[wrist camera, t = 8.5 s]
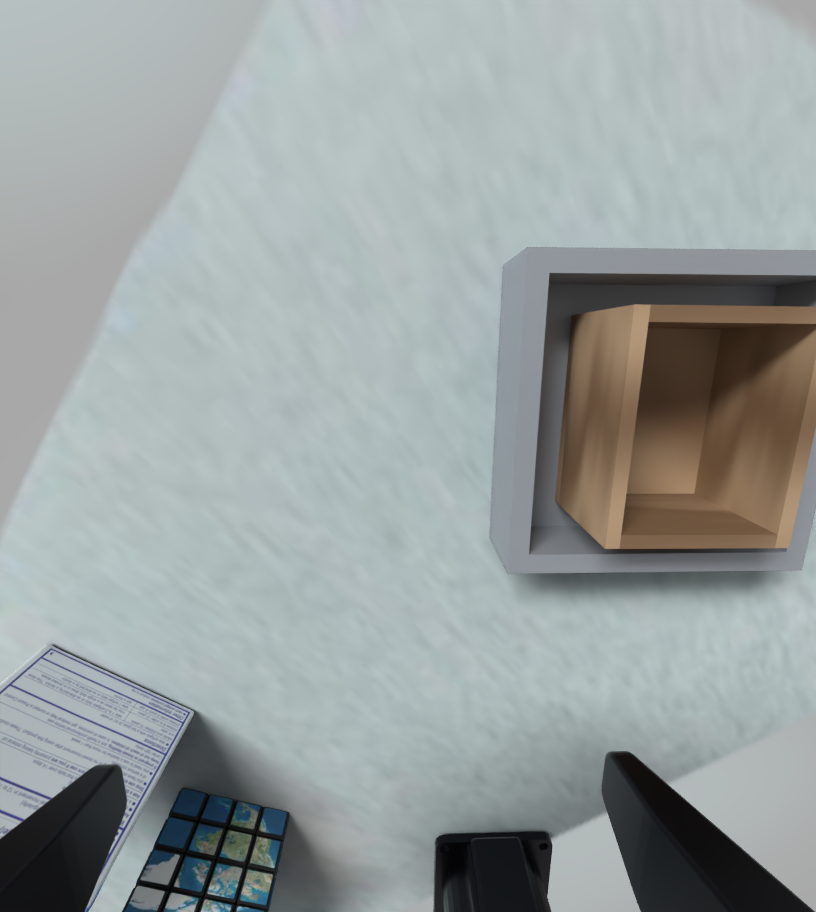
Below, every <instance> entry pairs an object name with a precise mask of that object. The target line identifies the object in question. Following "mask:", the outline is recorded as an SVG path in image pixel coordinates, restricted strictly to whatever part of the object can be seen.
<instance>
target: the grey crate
mask: <svg viewBox="0 0 816 912" xmlns="http://www.w3.org/2000/svg"><path fill="white" fill-rule="evenodd" d="M634 304H641V305H717V306H793V307H816V250H735V249H648V248H561V247H527V248H526V249H524V250H523V251H522V252H520V253H519V254H518V255H516V256H515V257H513V258H512V259H511V260H509V261H508V262H507V263H505V264H504V265H503V277H502V297H501V317H500V337H499V357H498V377H497V397H496V417H495V437H494V457H493V477H492V497H491V517H490V537H489V538H490V540H491V542H492V544H493V546H494V548H495V550H496V552H497V554H498V556H499V558H500V560H501V562H502V564H503V566H504V568H505V570H506V572H507V574H523V573H610V572H698V571H785V570H802V566H803V562H804V557H805V553H806V548H807V544H808V540H809V535H810V531H811V526H812V522H813V518H814V513H815V509H816V429H815V434H814V438H813V443H812V447H811V452H810V456H809V461H808V465H807V469H806V474H805V478H804V483H803V487H802V492H801V496H800V501H799V505H798V510H797V514H796V519H795V523H794V528H793V532H792V537H791V541H790V546H789V548H707V549H605V548H603V547H602V546H601V545H600V544H599V543H598V542H597V541H596V540H595V539H594V538H593V537H592V536H591V535H590V534H589V533H588V532H587V531H586V530H585V529H584V528H583V527H582V526H581V525H580V524H578V523H577V522H576V521H575V520H574V519H573V518H572V517H571V516H570V515H569V514H568V513H567V512H566V511H565V510H564V509H563V508H562V507H561V506H560V505H559V504H558V503H557V502H556V501H555V493H556V482H557V471H558V460H559V449H560V438H561V427H562V416H563V405H564V394H565V383H566V371H567V360H568V349H569V338H570V327H571V316H572V315H575V314H581V313H587V312H593V311H599V310H605V309H611V308H616V307H622V306H628V305H634Z"/></svg>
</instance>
